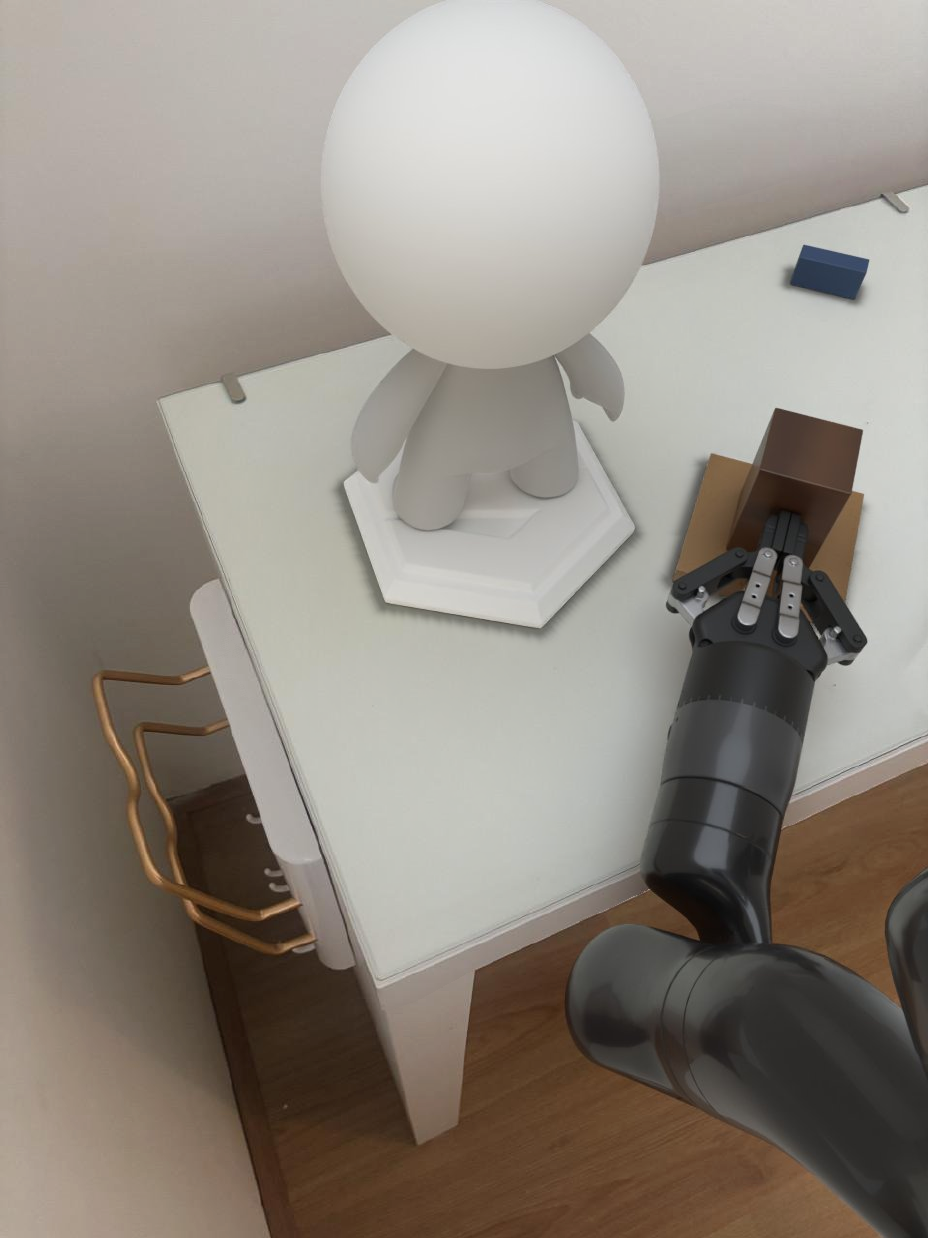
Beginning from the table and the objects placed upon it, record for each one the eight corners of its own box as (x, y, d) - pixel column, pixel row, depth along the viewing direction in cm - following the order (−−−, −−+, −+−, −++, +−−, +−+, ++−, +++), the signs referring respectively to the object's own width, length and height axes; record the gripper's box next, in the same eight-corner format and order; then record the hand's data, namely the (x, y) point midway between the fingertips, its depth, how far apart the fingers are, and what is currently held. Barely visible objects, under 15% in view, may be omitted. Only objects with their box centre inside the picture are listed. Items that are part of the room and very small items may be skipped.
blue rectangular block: (857, 286, 86) (869, 258, 83) (854, 299, 85) (866, 272, 82) (793, 271, 87) (803, 243, 84) (789, 284, 86) (799, 256, 83)
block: (857, 505, 72) (913, 409, 63) (835, 628, 66) (894, 542, 57) (706, 465, 74) (740, 366, 65) (672, 580, 68) (704, 490, 59)
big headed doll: (550, 380, 79) (605, -105, 49) (666, 591, 68) (828, 127, 38) (325, 436, 76) (238, -50, 46) (408, 668, 64) (363, 225, 34)
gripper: (872, 749, 50) (908, 512, 59) (638, 674, 53) (705, 456, 61) (825, 796, 57) (864, 576, 65) (619, 727, 59) (681, 524, 67)
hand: (787, 519), depth 63 cm, fingers closed
